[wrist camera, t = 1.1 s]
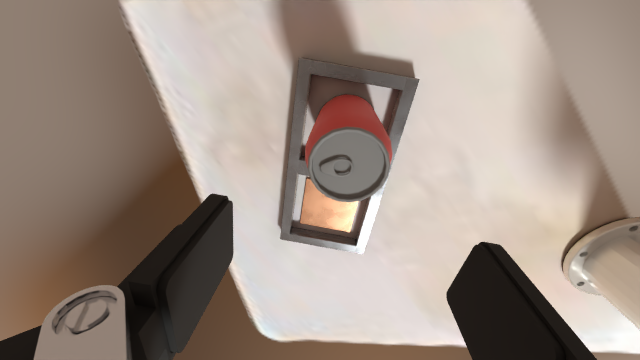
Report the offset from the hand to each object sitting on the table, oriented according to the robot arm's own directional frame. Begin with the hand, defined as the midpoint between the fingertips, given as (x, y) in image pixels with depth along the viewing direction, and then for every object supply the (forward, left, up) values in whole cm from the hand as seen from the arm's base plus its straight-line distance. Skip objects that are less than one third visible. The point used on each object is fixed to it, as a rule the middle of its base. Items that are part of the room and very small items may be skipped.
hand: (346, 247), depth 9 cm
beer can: (0, 0, -20) cm, 20 cm away
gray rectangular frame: (0, +6, -20) cm, 20 cm away
